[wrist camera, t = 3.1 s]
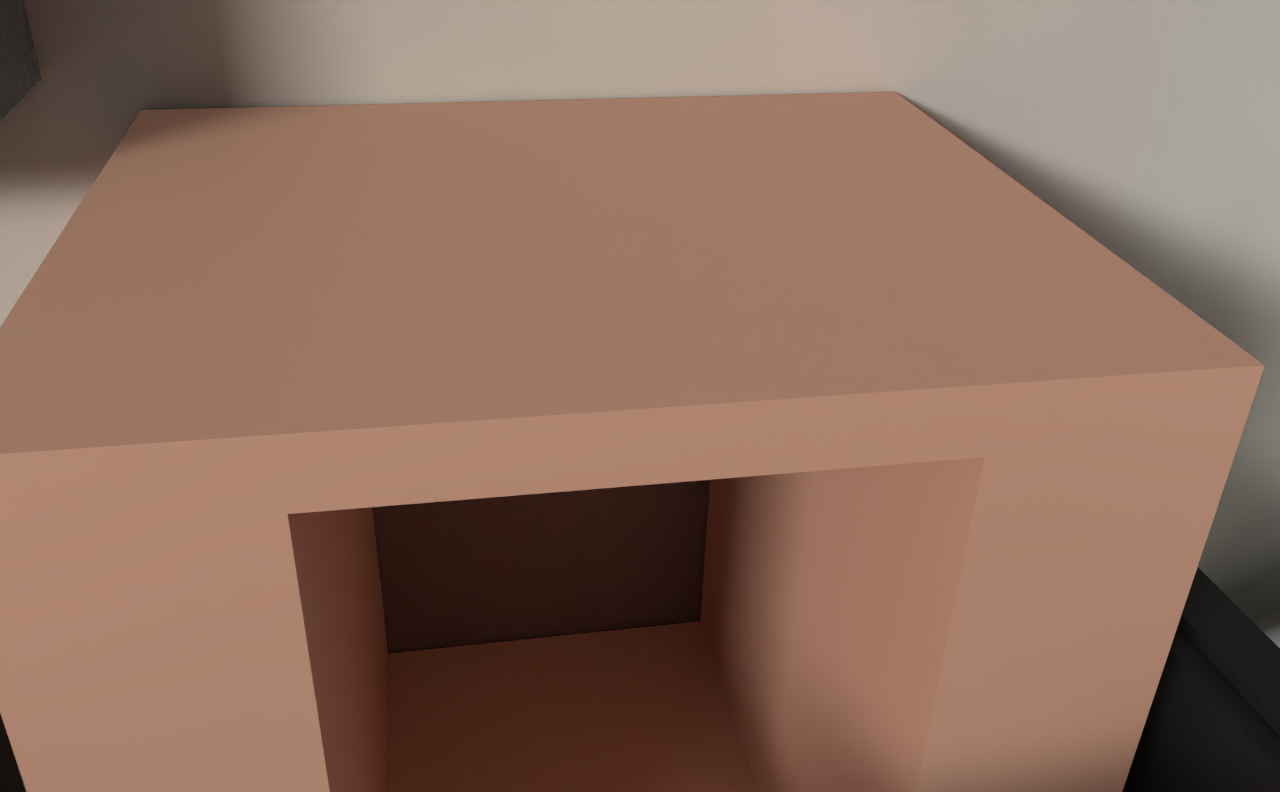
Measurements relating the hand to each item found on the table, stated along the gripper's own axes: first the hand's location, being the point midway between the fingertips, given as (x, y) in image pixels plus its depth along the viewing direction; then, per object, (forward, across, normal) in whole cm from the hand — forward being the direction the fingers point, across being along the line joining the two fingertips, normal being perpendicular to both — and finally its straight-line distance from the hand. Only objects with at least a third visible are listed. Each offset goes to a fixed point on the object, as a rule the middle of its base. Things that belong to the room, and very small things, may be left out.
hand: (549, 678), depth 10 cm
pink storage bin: (+4, 0, -1) cm, 4 cm away
